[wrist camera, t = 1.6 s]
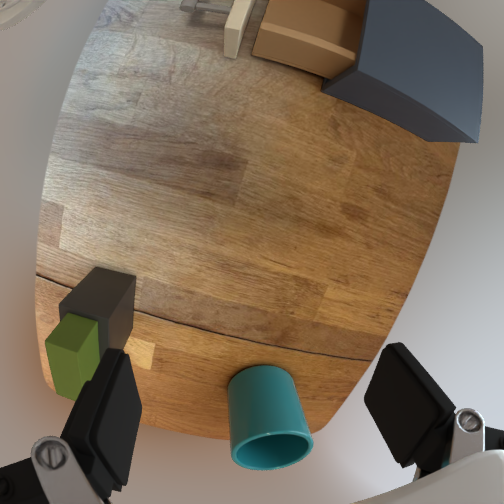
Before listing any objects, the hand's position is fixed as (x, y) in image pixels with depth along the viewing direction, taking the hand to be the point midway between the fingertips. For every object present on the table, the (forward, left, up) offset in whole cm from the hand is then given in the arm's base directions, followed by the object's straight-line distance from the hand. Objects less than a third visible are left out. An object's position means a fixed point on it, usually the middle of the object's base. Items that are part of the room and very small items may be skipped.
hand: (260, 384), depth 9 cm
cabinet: (-23, +12, -21) cm, 33 cm away
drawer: (-23, -1, -20) cm, 30 cm away
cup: (+21, +8, -21) cm, 31 cm away
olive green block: (+10, -12, -12) cm, 19 cm away
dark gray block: (+10, -12, -21) cm, 26 cm away
